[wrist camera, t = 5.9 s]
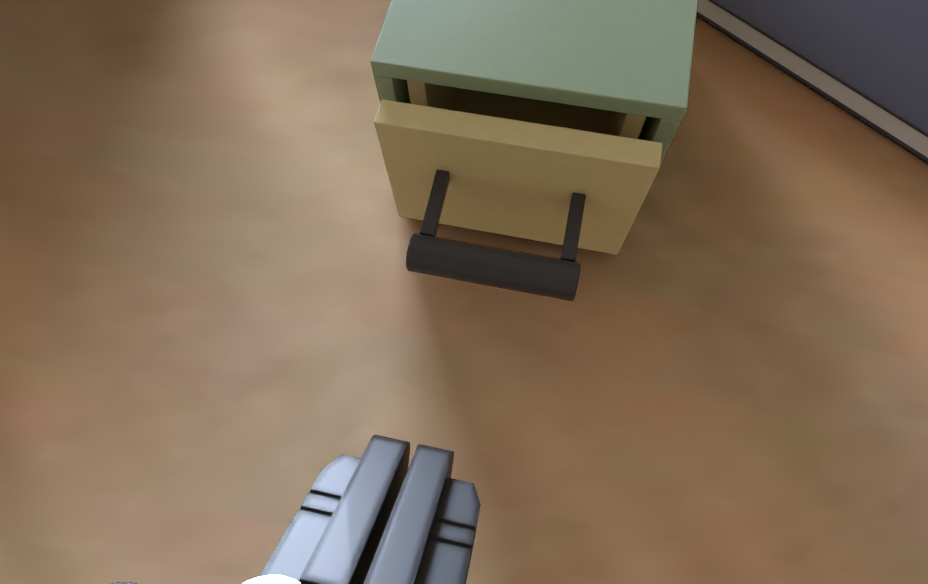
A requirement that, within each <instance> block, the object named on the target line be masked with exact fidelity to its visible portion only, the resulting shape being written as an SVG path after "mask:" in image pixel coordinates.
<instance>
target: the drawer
mask: <svg viewBox="0 0 928 584" xmlns="http://www.w3.org/2000/svg"><path fill="white" fill-rule="evenodd" d="M407 85H408V91H409V96H410V102H411V104H408V103H402V102H396V101H389V100H383V99H382V100H381V103H380V106H379V109H378V112H377V115H376V118H375V121H374V124H375V128H376V131H377V135H378V139H379V143H380V146H381V150H382V154H383V157H384V161H385V165H386V169H387V172H388V176H389V180H390V184H391V187H392V191H393V195H394V198H395V202H396V206H397V210H398V213H399V216H400V217H406V218H411V219H417V220H423V221H422V225H421V229H420V234H417V233H415V234H413V235H412V237H411V239H410V242H409V245H408V250H407V256H406V267H407V270H408V271H412V272H418V273H423V274H429V275H434V276H439V277H445V278H450V279H456V280H461V281H466V282H472V283H477V284H482V285H488V286H493V287H499V288H504V289H509V290H515V291H520V292H526V293H531V294H536V295H542V296H547V297H552V298H558V299H563V300H569V301H573V300H574V298H575V294H576V290H577V286H578V281H579V275H580V263H579V262H575V261H576V256H577V249H578V248H582V249H587V250H593V251H599V252H604V253H610V254H616V255H618V253H619V251H620V249H621V247H622V245H623V243H624V241H625V239H626V237H627V235H628V233H629V231H630V228H631V226H632V224H633V222H634V220H635V218H636V216H637V214H638V212H639V210H640V208H641V206H642V204H643V202H644V200H645V198H646V196H647V193H648V191H649V189H650V187H651V185H652V183H653V181H654V179H655V177H656V175H657V173H658V171H659V169H660V163H661V154H662V145H663V144H662V143H659V142H653V141H646V140H640V139H638V137H639V134H640V132H641V129H642V127H643V124H644V122H645V119H646V116H641V115H634V114H627V113H621V112H614V111H608V110H601V109H594V108H588V107H581V106H575V105H568V104H561V103H555V102H548V101H541V100H535V99H528V98H522V97H515V96H508V95H502V94H495V93H489V92H482V91H475V90H469V89H462V88H455V87H449V86H442V85H436V84H429V83H422V82H416V81H409V80H407ZM439 223H440V224H445V225H451V226H457V227H462V228H468V229H474V230H479V231H485V232H491V233H496V234H502V235H508V236H513V237H519V238H525V239H531V240H536V241H542V242H548V243H553V244H559V245H563V247H562V253H561V259H556V258H551V257H545V256H540V255H534V254H529V253H523V252H517V251H512V250H506V249H501V248H495V247H489V246H484V245H478V244H473V243H467V242H461V241H456V240H450V239H445V238H439V237H435V235H436V232H437V228H438V224H439Z"/></svg>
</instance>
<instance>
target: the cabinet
mask: <svg viewBox="0 0 928 584" xmlns="http://www.w3.org/2000/svg"><path fill="white" fill-rule="evenodd" d="M697 5H698V0H391V3H390V6H389V9H388V12H387V15H386V18H385V21H384V24H383V27H382V30H381V33H380V35H379V38H378V41H377V44H376V47H375V50H374V53H373V56H372V59H371V66H372V70H373V74H374V79H375V83H376V87H377V91H378V95H379V100H380V103H381V100H382V99H383V100H389V101H396V102H402V103H408V104H411V102H410V96H409V91H408V85H407V80H409V81H416V82H422V83H429V84H436V85H442V86H449V87H455V88H462V89H469V90H475V91H482V92H489V93H495V94H502V95H508V96H515V97H522V98H528V99H535V100H541V101H548V102H555V103H561V104H568V105H575V106H581V107H588V108H594V109H601V110H608V111H614V112H621V113H627V114H634V115H641V116H646V119H645V122H644V124H643V127H642V129H641V132H640V134H639V137H638V139H640V140H646V141H653V142H659V143H662V144H663V145H662V154H661V163H662V160H663V158H664V156H665V154H666V152H667V150H668V148H669V146H670V144H671V142H672V140H673V138H674V136H675V134H676V131H677V129H678V127H679V125H680V123H681V121H682V119H683V117H684V115H685V113H686V111H687V109H688V99H689V88H690V78H691V67H692V57H693V46H694V36H695V25H696V15H697ZM661 163H660V165H661Z"/></svg>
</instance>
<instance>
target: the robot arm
mask: <svg viewBox="0 0 928 584" xmlns="http://www.w3.org/2000/svg"><path fill="white" fill-rule="evenodd" d="M409 454H410V442H406V441H402V440H397V439H393V438H388V437H383V436H379V435H374V436H373V437H372V438H371V440H370V442H369V444H368V446H367V448H366V450H365V452H364V454H363V456H362V458H361V459H360V458H356V457H351V456H347V455H341V456H340V457H338V458H337V459H336V460H334V461H333V462H332V463H330V464H329V465H328V466H326V467H325V468H324V469H322V471H321V473H320V474H319V476H318V478H317V479H316V481H315V483H314V484H313V486H312V488H311V491H310V493H308V495H307V496H306V498H305V500H304V501H303V503H302V505H301V508H300V510H298V511H297V513H296V515H295V517H294V518H293V520H292V522H291V523H290V525H289V527H288V528H287V530H286V532H285V534H284V535H283V537H282V539H281V540H280V542H279V544H278V545H277V547H276V549H275V550H274V552H273V554H272V556H271V557H270V559H269V561H268V562H267V564H266V566H265V567H264V569H263V571H262V572H261V574H260V575H259V577H257V578H254V579H251V580H249V581H247V582H245V583H243V584H466V580H467V575H468V570H469V565H470V560H471V555H472V549H473V544H474V538H475V533H476V527H477V521H478V516H479V510H480V502H479V498H478V495H477V492H476V489H475V486H474V483H469V482H465V481H460V480H456V479H451V472H452V465H453V458H454V452H453V451H449V450H444V449H439V448H435V447H430V446H426V445H421V444H419V445H418V446H417V448H416V450H415V453H414V456H413V458H412V461H411V463H410V466H409V468H408V463H409ZM112 584H138V583H132V582H118V583H112Z"/></svg>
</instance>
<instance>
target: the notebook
mask: <svg viewBox="0 0 928 584" xmlns="http://www.w3.org/2000/svg"><path fill="white" fill-rule="evenodd" d="M697 16H698V17H700V18H701V19H703V20H705V21H706V22H708V23H709V24H711V25H712V26H714V27H715V28H717V29H719V30H720V31H722V32H723V33H725V34H726V35H728V36H730V37H731V38H733V39H734V40H736V41H737V42H739V43H741V44H742V45H744V46H745V47H747V48H748V49H750V50H752V51H753V52H755V53H756V54H758V55H759V56H761V57H763V58H764V59H766V60H767V61H769V62H770V63H772V64H774V65H775V66H777V67H778V68H780V69H781V70H783V71H784V72H786V73H788V74H789V75H791V76H792V77H794V78H795V79H797V80H799V81H800V82H802V83H803V84H805V85H806V86H808V87H810V88H811V89H813V90H814V91H816V92H817V93H819V94H821V95H822V96H824V97H825V98H827V99H828V100H830V101H832V102H833V103H835V104H836V105H838V106H839V107H841V108H843V109H844V110H846V111H847V112H849V113H850V114H852V115H854V116H855V117H857V118H858V119H860V120H861V121H863V122H864V123H866V124H868V125H869V126H871V127H872V128H874V129H875V130H877V131H879V132H880V133H882V134H883V135H885V136H886V137H888V138H890V139H891V140H893V141H894V142H896V143H897V144H899V145H901V146H902V147H904V148H905V149H907V150H908V151H910V152H912V153H913V154H915V155H916V156H918V157H919V158H921V159H923V160H924V161H926V162H927V163H928V0H698V5H697Z"/></svg>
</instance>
